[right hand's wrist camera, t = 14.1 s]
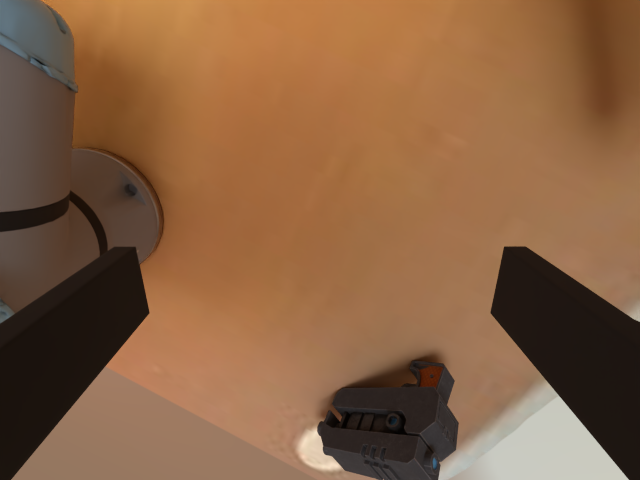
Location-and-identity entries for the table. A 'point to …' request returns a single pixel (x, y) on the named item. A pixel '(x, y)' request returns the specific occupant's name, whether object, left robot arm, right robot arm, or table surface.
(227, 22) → the table surface
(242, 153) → the table surface
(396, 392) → the tool
